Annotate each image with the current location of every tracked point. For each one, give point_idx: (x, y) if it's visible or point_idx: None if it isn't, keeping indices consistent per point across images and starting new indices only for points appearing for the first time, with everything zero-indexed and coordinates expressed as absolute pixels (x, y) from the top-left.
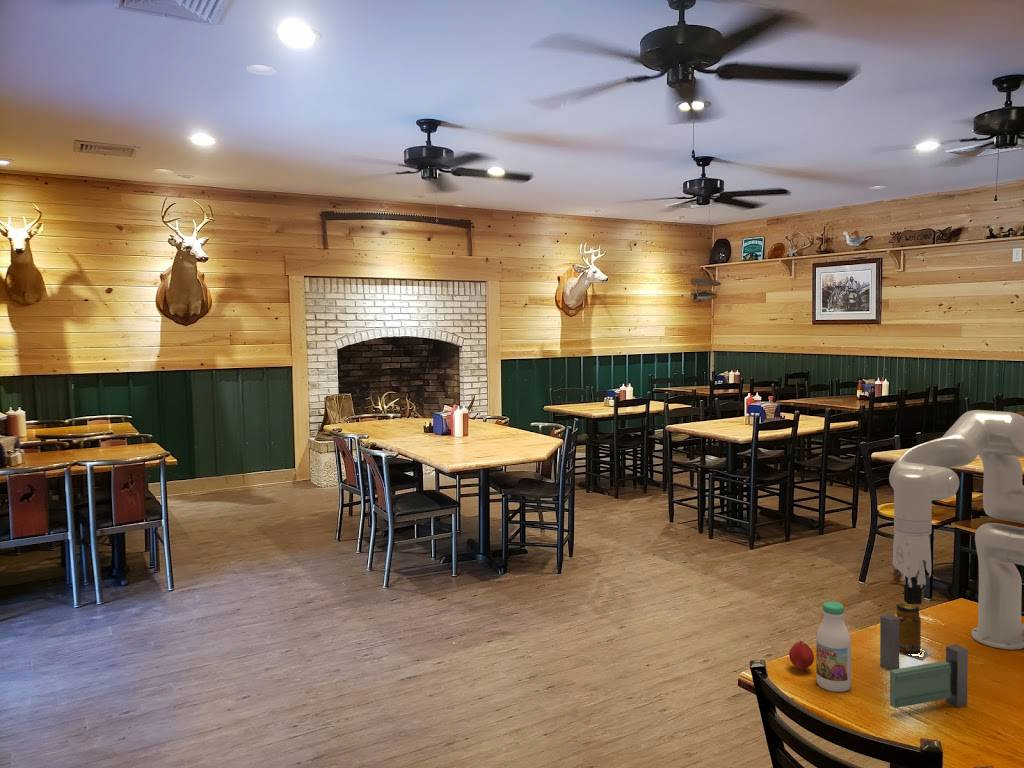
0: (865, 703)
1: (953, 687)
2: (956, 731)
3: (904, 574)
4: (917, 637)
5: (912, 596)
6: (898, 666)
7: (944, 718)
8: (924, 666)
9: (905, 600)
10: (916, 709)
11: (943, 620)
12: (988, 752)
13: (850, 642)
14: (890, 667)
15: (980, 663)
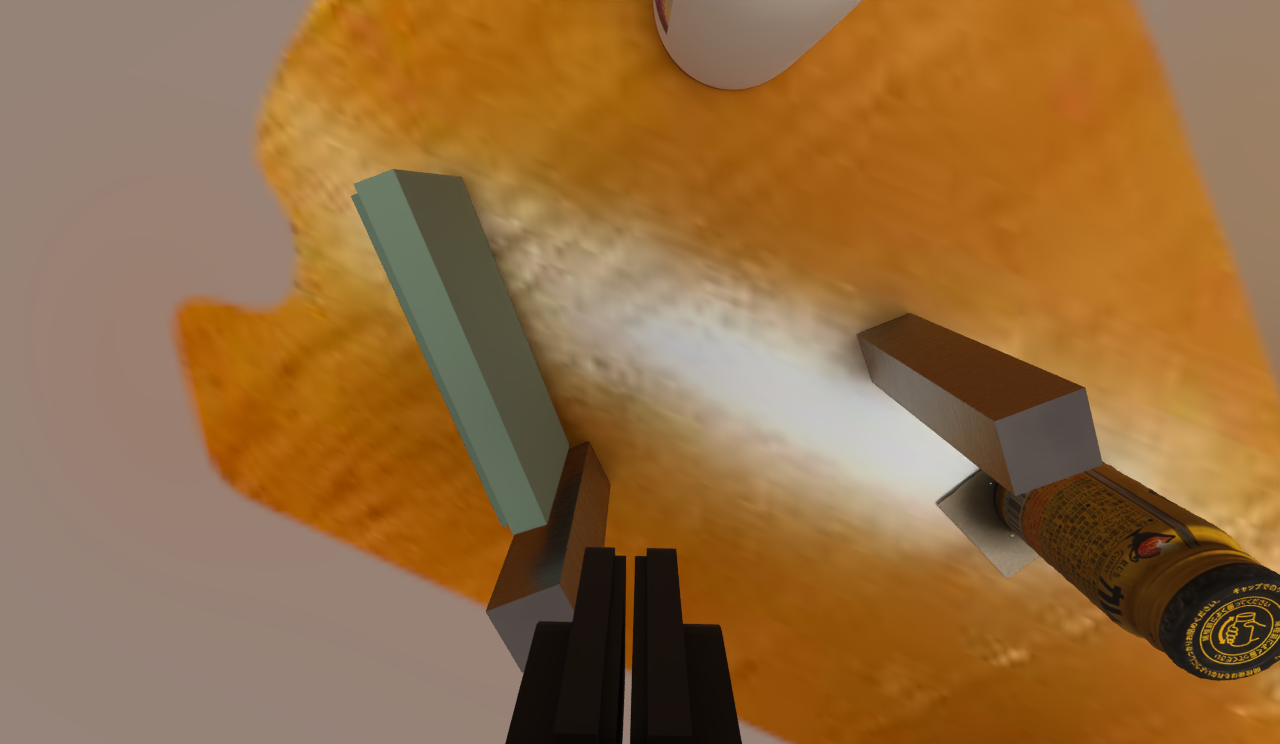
0: (556, 100)
1: None
2: (365, 381)
3: None
4: (1043, 552)
5: (528, 668)
6: (875, 382)
7: None
8: (467, 394)
9: (649, 558)
10: (518, 305)
11: (1273, 728)
12: (238, 422)
13: (727, 5)
14: (862, 341)
15: (883, 684)
